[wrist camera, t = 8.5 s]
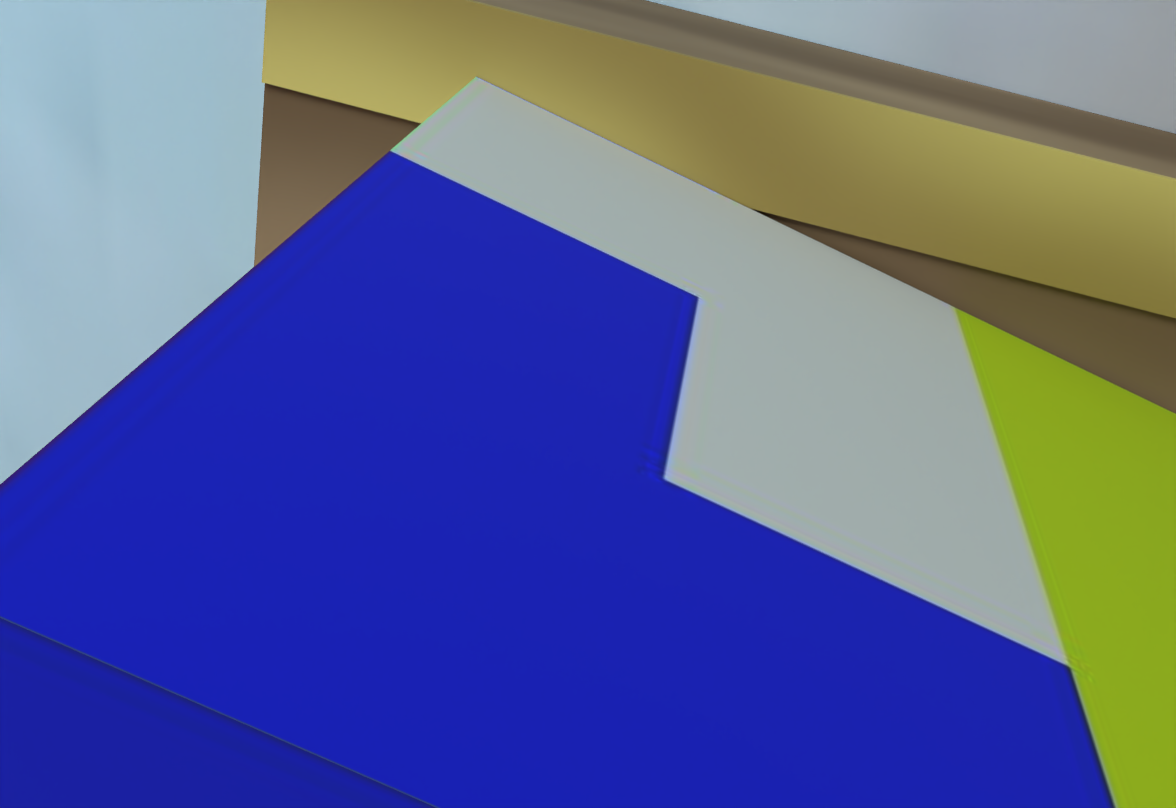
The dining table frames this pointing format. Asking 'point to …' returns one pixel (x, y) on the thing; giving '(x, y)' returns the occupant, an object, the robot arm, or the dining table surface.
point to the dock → (769, 152)
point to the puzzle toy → (587, 523)
